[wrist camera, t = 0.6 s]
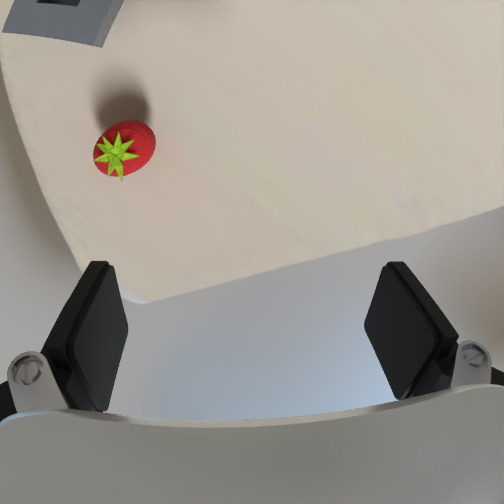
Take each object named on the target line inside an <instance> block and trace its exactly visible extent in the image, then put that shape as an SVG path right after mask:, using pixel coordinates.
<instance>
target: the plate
mask: <svg viewBox="0 0 504 504" xmlns="http://www.w3.org/2000/svg"><path fill="white" fill-rule="evenodd" d="M123 1H124V0H15V1H14V3H13V5H12V8H11V10H10V12H9V15H8V17H7V20H6V23H5V25H4V28H3V31H2V32H5V33H16V34H25V35H34V36H41V37H48V38H54V39H60V40H66V41H72V42H77V43H82V44H87V45H91V46H96V47H101V48H102V46H103V44H104V42H105V39H106V37H107V35H108V33H109V30H110V28H111V26H112V24H113V22H114V19H115V17H116V15H117V13H118V11H119V9H120V7H121V5H122V3H123Z"/></svg>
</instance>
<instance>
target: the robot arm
mask: <svg viewBox="0 0 504 504" xmlns="http://www.w3.org/2000/svg"><path fill="white" fill-rule="evenodd" d="M364 328H365V331H366V333H367V336H368V338H369V340H370V342H371V344H372V346H373V349H374V351H375V353H376V355H377V357H378V360H379V362H380V364H381V366H382V368H383V371H384V373H385V375H386V377H387V380H388V382H389V385H390V387H391V389H392V392H393V394H394V396H395V398H396V399H398V400H399V401H394V402H390V403H385V404H380V405H374V406H369V407H363V408H357V409H351V410H344V411H337V412H331V413H323V414H314V415H305V416H295V417H283V418H268V419H244V420H189V419H168V418H153V417H140V416H128V415H118V414H110V413H103V411H107V409H108V406H109V402H110V398H111V394H112V390H113V386H114V382H115V378H116V374H117V370H118V367H119V363H120V360H121V356H122V352H123V349H124V345H125V342H126V338H127V334H128V323H127V319H126V316H125V312H124V308H123V304H122V300H121V296H120V292H119V287H118V283H117V279H116V274H115V269H114V267H113V266H112V265H109V263H108V262H107V261H91V262H90V264H89V265H88V267H87V269H86V270H85V272H84V274H83V275H82V277H81V279H80V280H79V282H78V284H77V286H76V287H75V289H74V291H73V292H72V294H71V296H70V298H69V299H68V301H67V302H66V304H65V306H64V307H63V309H62V311H61V313H60V315H59V317H58V319H57V321H56V322H55V324H54V326H53V328H52V330H51V332H50V334H49V336H48V338H47V340H46V342H45V344H44V346H43V348H42V350H41V352H40V353H39V352H35V351H28V352H25V353H22V354H20V355H19V356H17V357H16V358H15V359H14V360H13V361H12V362H11V364H10V365H9V367H8V371H7V377H8V381H6V382H4V383H2V384H0V504H504V373H503V372H502V371H499V370H497V369H495V368H493V367H491V365H492V361H491V357H490V354H489V352H488V351H487V350H486V348H484V347H483V346H482V345H481V344H479V343H477V342H475V341H471V340H466V341H463V342H461V343H460V344H459V345H458V343H457V342H456V341H457V339H458V337H459V335H458V334H457V332H456V330H455V329H454V328H453V326H452V325H451V323H450V322H449V321H448V319H447V318H446V316H445V315H444V314H443V312H442V311H441V309H440V308H439V307H438V305H437V304H436V303H435V301H434V300H433V299H432V297H431V296H430V295H429V293H428V292H427V291H426V289H425V288H424V287H423V285H422V284H421V283H420V282H419V280H418V279H417V278H416V276H415V275H414V274H413V273H412V271H411V270H410V269H409V268H408V266H407V265H406V264H405V263H404V262H388V263H387V264H386V266H384V267H383V268H382V270H381V274H380V277H379V280H378V283H377V286H376V290H375V293H374V296H373V299H372V302H371V305H370V308H369V310H368V313H367V316H366V319H365V323H364Z"/></svg>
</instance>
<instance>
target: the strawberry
mask: <svg viewBox="0 0 504 504" xmlns="http://www.w3.org/2000/svg"><path fill="white" fill-rule="evenodd" d="M155 145H156V140H155V136H154V133H153V131H152V130H151V129H150V128H149V127H148V126H147V125H146V124H144V123H142V122H139V121H123V122H120V123H117V124H115V125H113V126H111V127H110V128H108V129H107V130H106V131H105V132H104V133H103V134H102V135H101V137H100V138H99V139H98V141H97V143H96V145H95V148H94V152H93V158H94V160H93V161H94V162H95V165H96V166H97V168H98V169H99V170H100V171H101V172H102V173H104V174H106V175H108V176H115V177H117V176H119V177H120V179H121V181H122V178H123V176H125V175H128V174H131V173H133V172H135V171H137V170H139V169H140V168H142V167H143V166H144V165H145V164H146V163H147V162H148V161H149V160H150V158H151V157H152V155H153V153H154V150H155Z"/></svg>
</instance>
